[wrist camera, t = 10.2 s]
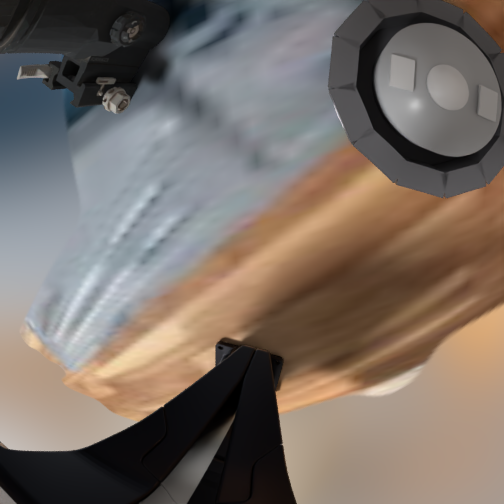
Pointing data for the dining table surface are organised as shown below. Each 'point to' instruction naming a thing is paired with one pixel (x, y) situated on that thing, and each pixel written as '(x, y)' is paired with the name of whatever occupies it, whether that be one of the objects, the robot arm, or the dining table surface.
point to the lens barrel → (371, 121)
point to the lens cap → (437, 90)
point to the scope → (85, 44)
